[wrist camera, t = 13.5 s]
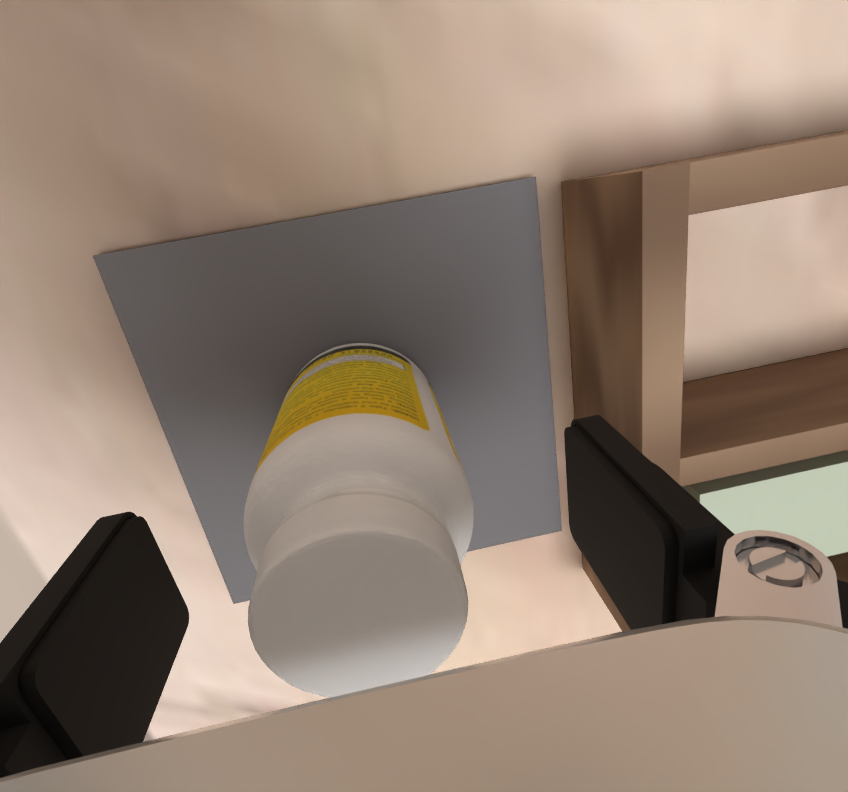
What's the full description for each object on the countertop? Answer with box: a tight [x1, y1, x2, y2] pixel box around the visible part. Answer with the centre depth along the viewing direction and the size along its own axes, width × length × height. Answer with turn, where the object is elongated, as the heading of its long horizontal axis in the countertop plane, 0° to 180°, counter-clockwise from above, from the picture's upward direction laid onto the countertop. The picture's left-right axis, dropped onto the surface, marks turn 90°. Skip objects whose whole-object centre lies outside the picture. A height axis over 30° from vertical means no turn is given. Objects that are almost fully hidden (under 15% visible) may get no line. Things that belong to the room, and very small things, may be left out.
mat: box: [93, 177, 562, 604], centre depth 18 cm, size 14×14×1 cm
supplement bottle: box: [244, 343, 474, 698], centre depth 13 cm, size 5×5×10 cm
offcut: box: [682, 450, 848, 557], centre depth 19 cm, size 4×7×4 cm, turn 100°
